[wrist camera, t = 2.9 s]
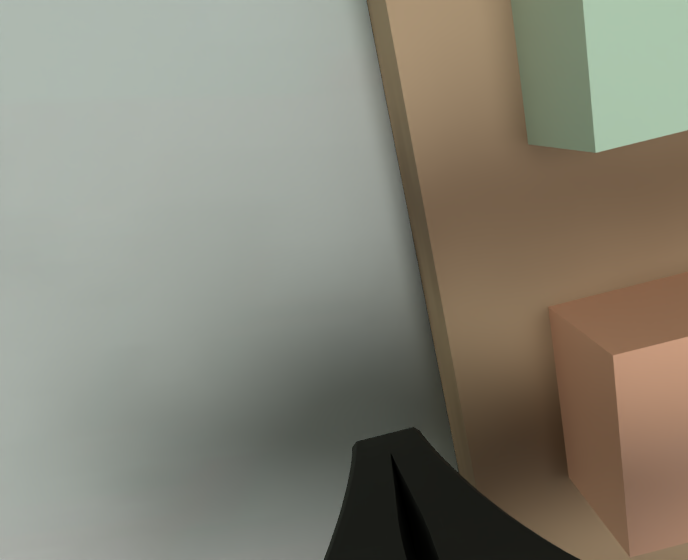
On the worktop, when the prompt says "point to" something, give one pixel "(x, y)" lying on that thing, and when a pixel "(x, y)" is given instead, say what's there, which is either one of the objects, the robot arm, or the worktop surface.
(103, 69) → the worktop surface
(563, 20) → the sage tile
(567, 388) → the terracotta tile
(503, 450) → the walnut board
